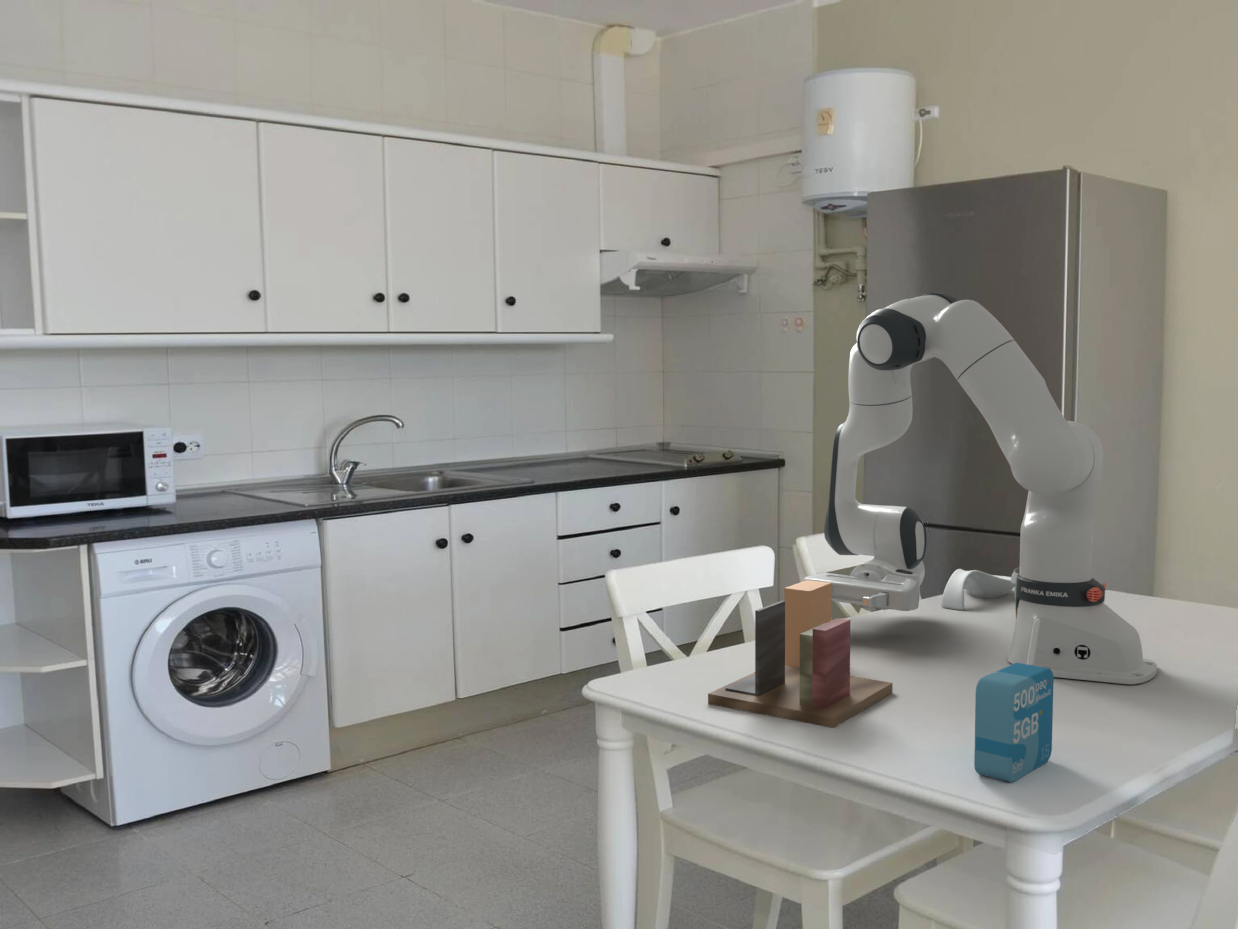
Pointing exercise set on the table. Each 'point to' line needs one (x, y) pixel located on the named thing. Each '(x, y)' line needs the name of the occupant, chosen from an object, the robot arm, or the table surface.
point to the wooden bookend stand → (801, 675)
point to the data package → (1013, 721)
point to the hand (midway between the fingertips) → (841, 599)
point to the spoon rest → (973, 587)
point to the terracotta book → (804, 614)
